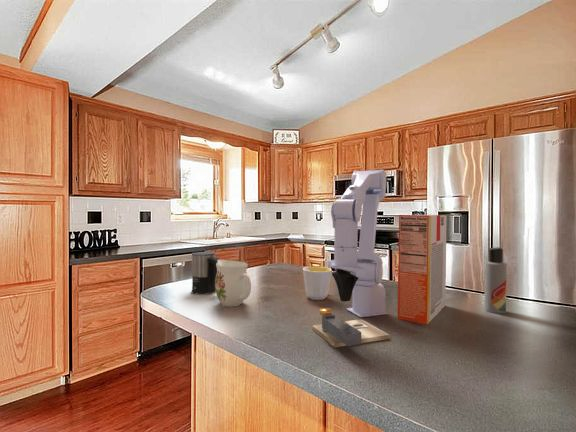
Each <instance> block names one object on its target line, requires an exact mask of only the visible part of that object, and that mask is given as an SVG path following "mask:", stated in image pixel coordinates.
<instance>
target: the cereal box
mask: <svg viewBox="0 0 576 432" xmlns="http://www.w3.org/2000/svg"><path fill="white" fill-rule="evenodd" d="M447 217H448V216H447V214H399V216H398V272H397V275H398V276H397V277H398V278H397V280H398V281H397V282H398V283H397V319H399V320H404V321H409V322H413V323H419V324H423V325H428V324H429V323H430V322H431V321H432V320H433V319H434V318H435V317H436V316H437V315H438V314H439V313H440V312H441V311H442V310H443V309H444V308H445V306H446V292H447V291H446V288H447V287H446V282H447V281H446V279H447V277H446V276H447V226H448V224H447V221H448V220H447ZM442 308H443V309H442ZM441 309H442V310H441Z"/></svg>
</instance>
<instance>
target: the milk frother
mask: <svg viewBox="0 0 576 432" xmlns="http://www.w3.org/2000/svg"><path fill="white" fill-rule="evenodd" d="M216 254H217V252H215V251H197V252H191V267H192V268H191V269H192V271H191V272H192V276H191V277H192V283H191V285H192V286H191V293H192V292H193V293H192V294H195V293H198V294H197V295H205V294H206V293H207V294H211V293H216V290H215V278H216V274H217V267H216V263H217V260H221V259H220V258H219V257H217V256H216Z"/></svg>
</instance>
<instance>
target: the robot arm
mask: <svg viewBox="0 0 576 432" xmlns="http://www.w3.org/2000/svg"><path fill="white" fill-rule="evenodd" d="M386 190H387V173H386V171H385V170H384V169H378V170H377V169H374V170H354V171H353V173H352V175H351V184H350V185H349V187H347V188H346V190H345V191H344V193H343V194H342V195H341V197H340V198H337V199H336V200H334V201H332V203H331V209H330V214H331V219H332V220H331V221H332V228H333V229H334V238H333V239H334V240H333V241H334V245H333V246H334V248H333V249H334V251H333V254H334V256H333V259H328V268H330V269H336V271H332V273H331V276H332V277H333V278H334V280H335V283H336V286H337V292H338V296H339V299H340V301H342V302H350V301H351V298H352V307H348V308H346V311H349V312H350V313H352V314H353V315H355V316H357V317H359V318H366V317H367V318H368V317H375V316H381V315H387V314H388V312H387V311H386V305H387V304H386V299H387V297H386V295H387V294H386V289H385V287H384V284H382V281H383V277H384V276H383V275H384V267H383V260H382V257H380V255H379V254H377V253H376V252H375V244H376V234H377V222H378V221H377V220H378V208H379V204H380V201H382V200H383V199H385V196H386ZM360 220H361V221H360ZM359 222H360V231H359V241H358V227H359V225H358V224H359ZM358 242H359V243H358Z"/></svg>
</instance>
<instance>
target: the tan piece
mask: <svg viewBox="0 0 576 432" xmlns="http://www.w3.org/2000/svg"><path fill="white" fill-rule="evenodd" d="M321 316H322V317H324V315H321ZM322 317H321V318H322ZM343 321H344V320H343ZM344 322H346V323H347V324H349V325H350V326H352V327H354V328H355V329H357V330H359V331H360V332H361V344H364V343H371V342H377V341H383V340H389V339H390V334H389V333H387V332H385V331H384V330H382V329H379V328H378V327H376V326H375V325H372V324H371V323H369V322H367V321H366V320H364V319H363V318H362V319H361V318H359V319H354V320H353V319H352V320H346V321H344ZM312 330H313V331H314V332H315V333H316V334H317V335H318V336H320V337H321V338H322V339H324V341H325V342H327V343H329V344H330V345H331V346H332V347H333V348H340V347H341V348H342V347H347V346H346V345H345V344H344V343H342V342H341V341H340V340H338V339H337V338H335V337H334V336H333V335H331V334H330V333H329V332H327V331H326V330H324V329H323V328H322V323H321V324H314V325H312Z"/></svg>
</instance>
